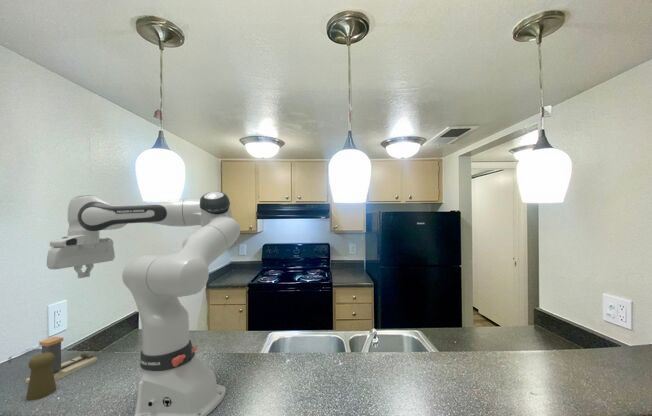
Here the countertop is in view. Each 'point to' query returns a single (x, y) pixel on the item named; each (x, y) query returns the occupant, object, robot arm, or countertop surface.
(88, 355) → the fader board
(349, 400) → the countertop surface
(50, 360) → the cork
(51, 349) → the fader knob
